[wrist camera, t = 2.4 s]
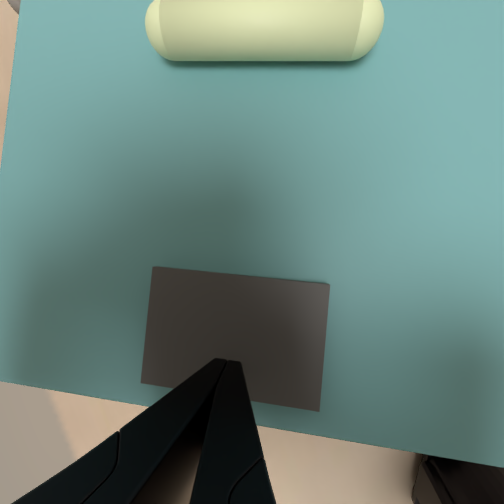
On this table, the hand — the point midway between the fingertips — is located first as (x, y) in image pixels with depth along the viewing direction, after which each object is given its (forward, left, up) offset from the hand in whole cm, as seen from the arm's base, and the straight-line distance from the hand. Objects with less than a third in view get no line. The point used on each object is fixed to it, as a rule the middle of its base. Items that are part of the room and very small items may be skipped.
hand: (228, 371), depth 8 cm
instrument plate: (0, -6, -4) cm, 7 cm away
